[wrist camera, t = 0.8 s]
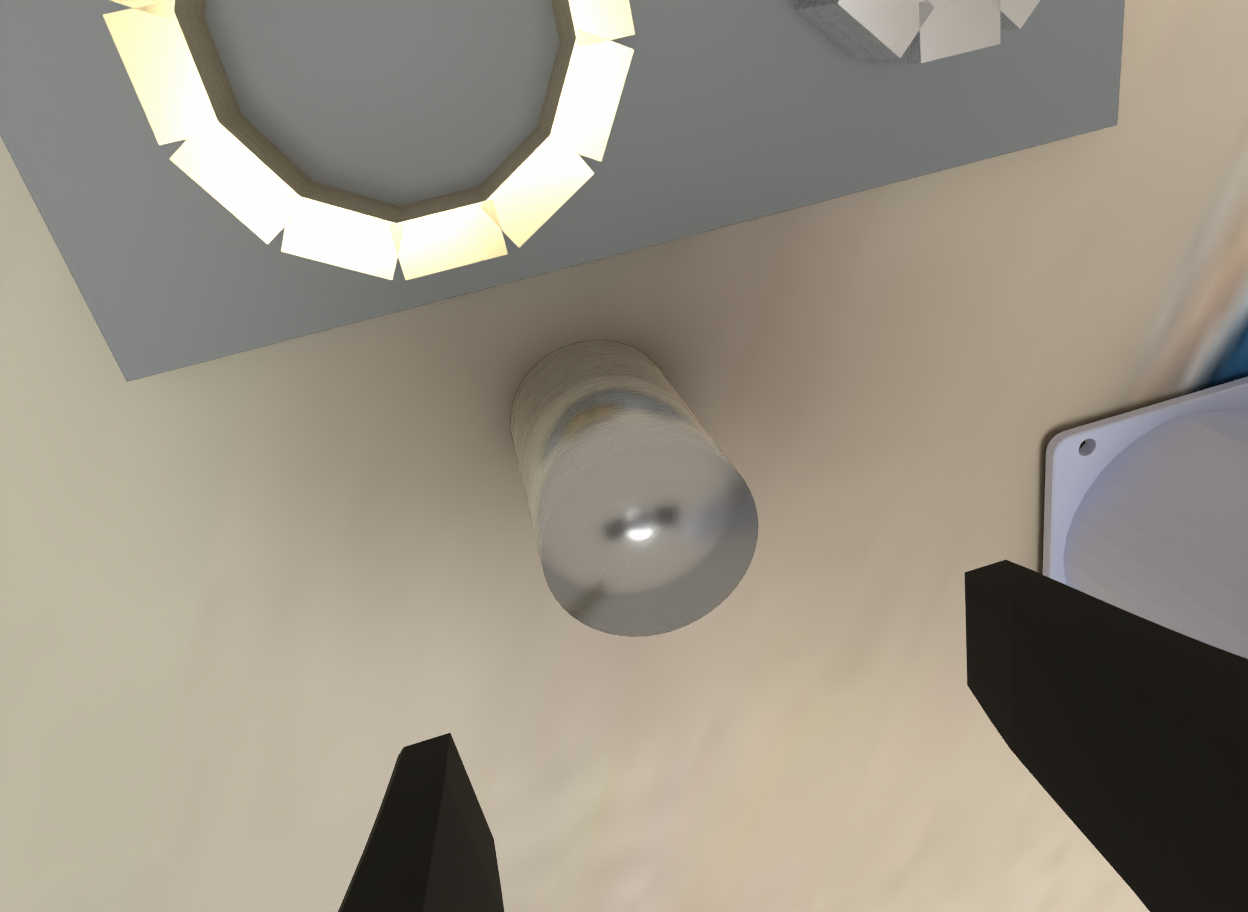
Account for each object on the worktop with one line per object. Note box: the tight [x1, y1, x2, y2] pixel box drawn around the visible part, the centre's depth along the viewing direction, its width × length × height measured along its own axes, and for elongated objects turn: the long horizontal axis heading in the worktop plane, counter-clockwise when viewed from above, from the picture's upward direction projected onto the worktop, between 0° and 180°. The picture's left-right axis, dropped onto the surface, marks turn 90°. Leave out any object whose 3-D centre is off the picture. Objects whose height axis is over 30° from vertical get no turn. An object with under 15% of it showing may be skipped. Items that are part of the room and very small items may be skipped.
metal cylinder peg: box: [511, 340, 758, 637], centre depth 18 cm, size 4×4×6 cm
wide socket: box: [103, 0, 635, 280], centre depth 14 cm, size 8×8×2 cm
